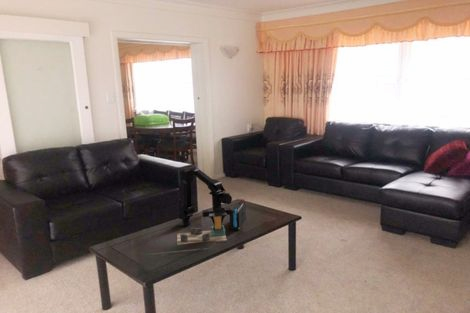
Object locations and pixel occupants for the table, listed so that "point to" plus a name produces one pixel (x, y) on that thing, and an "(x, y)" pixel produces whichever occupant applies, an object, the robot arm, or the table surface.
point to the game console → (238, 215)
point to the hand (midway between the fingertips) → (217, 225)
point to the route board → (199, 238)
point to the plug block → (217, 222)
